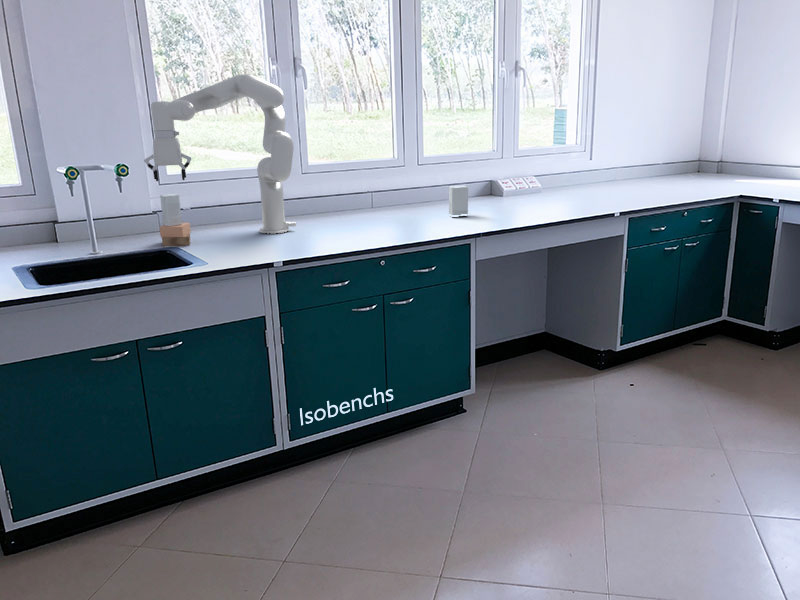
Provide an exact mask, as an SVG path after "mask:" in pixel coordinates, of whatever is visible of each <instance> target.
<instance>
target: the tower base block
mask: <svg viewBox="0 0 800 600" xmlns="http://www.w3.org/2000/svg"><path fill="white" fill-rule="evenodd" d="M161 240H162V241H161V242H162V243H161V245H162V248H165V247H164V246H175V247H187V246H188V247H189V246H190V245H191V241H190V240H191V233H189V234H188V235H186V236H184V237H161Z"/></svg>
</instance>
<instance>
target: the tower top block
mask: <svg viewBox="0 0 800 600" xmlns="http://www.w3.org/2000/svg"><path fill="white" fill-rule="evenodd" d="M191 231H192V230H191V222H182V225H175V226H169V227H168V226H165V225H164V224H163V225H161V226H159V236H160V238H162V237H184V236H186V235H188V234H189V233H190V234H191Z"/></svg>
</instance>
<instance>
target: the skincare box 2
mask: <svg viewBox="0 0 800 600" xmlns="http://www.w3.org/2000/svg"><path fill="white" fill-rule="evenodd" d="M449 214H451V215H461V214H468V215H469V187H468V186H466V185H464V184H462V185H450V186H448V215H449Z"/></svg>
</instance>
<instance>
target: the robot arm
mask: <svg viewBox="0 0 800 600" xmlns="http://www.w3.org/2000/svg"><path fill="white" fill-rule="evenodd" d="M246 97H247V98H250V99H251V100H254V101H255V103H256V105H257V106H259V108H260V109H261V110H262V112H263V116H264V128H263V137H262V147H263V150H264V151H265V152H267V153H268V154H270V156H267V157H264V158H262V159H260V161H259V162H258V164H257V168H256V169H257V177H258V181H259V189H260V203H261V217H262V218H261V220H262V227H260V228H259V233H260V234H265V233H267V234H268V235H271V234H272V235H275V234H276V233H278V234H283V233H284V232H285V233H286V232H287V231H288V232H289V231H290V229H289V227H296V226H297V223H296V221H286V218H285V201H284V200H285V199H284V187H283V182H285V181H287V180H288V178H289V177H290V176H291V172H292V167H293V166H292V165H293V158H294V149H295V148H294V147H295V145H294V141H293V138H292V137H291V136H290V134H289V133H287V132H286V120H287V119H286V113H285V109H284V108H283V106H282V105H283V104H284V100H285V94H284V92H283V90H282V89H281V88H280V87H279V86H277V85H274V84H272V83H270V82H268V81H266V80H263V79H261V78H259V77H257V76H256V75H255V76H254V75H252V74H248V73H247V74H237V75H234V76H231V77H228V78H227V79H225V80H221V81H219V82H217V83H214V84H212V85H209V86H207V87H204V88H202V89H199V90H197V91H194V92H191V93H189V94H185V95H183V96H181V97H179V98H176V99H174V100H171V101H167V100H166V101H163V100H161V101H160V100H159V101H157V100H156V101H153V102H151V103H150V110H151V117H152V119H151V120H152V124H153V126H152V127H153V132H154V133H153V134H154V138H153V139H152V140H153V141H152V152H153V154H152V155H150V156H148V157H146V158H144V160H143V162H145V164H146V166H147V167H148V168H149V169H150V170H152V172H153V179H154V180H155V181H156V182H159V179H160V177H159V172H158V171H159V170H158V167H161V166H162V167H163V166H179V167H180V169H181V171H180V173H181V177H182V178H181V179H182V181H185V179H186V178H187V173H186V169H187V167H188V166H189V165H190V163H191V161H192V156H189V155H187V154H184V153H182V150H181V149H182V148H181V145H180V141H179V138H178V136H180V131H176V130H175V122H174V121H183V122H186V121H190V120H191V119H193V118H194V116H195V114H197V113H199V112H202V111H207V110H216V109H219V108H220V107H223V106H225V105H228V104H230V103H232V102H235V101H237V100H240V99H242V98H246ZM183 159H185V160H187V161H186V162H185V163H184V164H183ZM151 160H153V162H154V165H153V164H151V162H150V161H151ZM269 233H270V234H269ZM267 234H266V235H267Z"/></svg>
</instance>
